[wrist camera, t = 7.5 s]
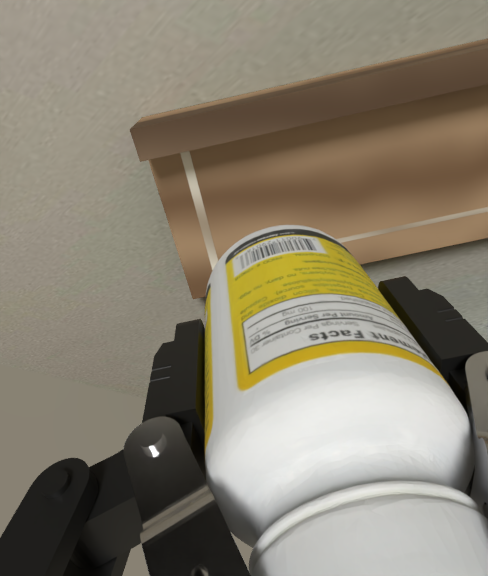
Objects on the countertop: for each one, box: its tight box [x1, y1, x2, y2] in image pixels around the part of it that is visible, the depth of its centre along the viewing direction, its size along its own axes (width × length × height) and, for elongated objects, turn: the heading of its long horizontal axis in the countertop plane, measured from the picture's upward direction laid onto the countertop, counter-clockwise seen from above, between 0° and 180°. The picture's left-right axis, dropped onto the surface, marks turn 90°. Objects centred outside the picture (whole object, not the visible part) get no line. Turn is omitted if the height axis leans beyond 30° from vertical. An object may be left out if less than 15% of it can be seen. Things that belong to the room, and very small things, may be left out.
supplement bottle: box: [205, 225, 488, 576], centre depth 10 cm, size 5×5×10 cm
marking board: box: [130, 39, 488, 299], centre depth 22 cm, size 11×26×4 cm, turn 101°
